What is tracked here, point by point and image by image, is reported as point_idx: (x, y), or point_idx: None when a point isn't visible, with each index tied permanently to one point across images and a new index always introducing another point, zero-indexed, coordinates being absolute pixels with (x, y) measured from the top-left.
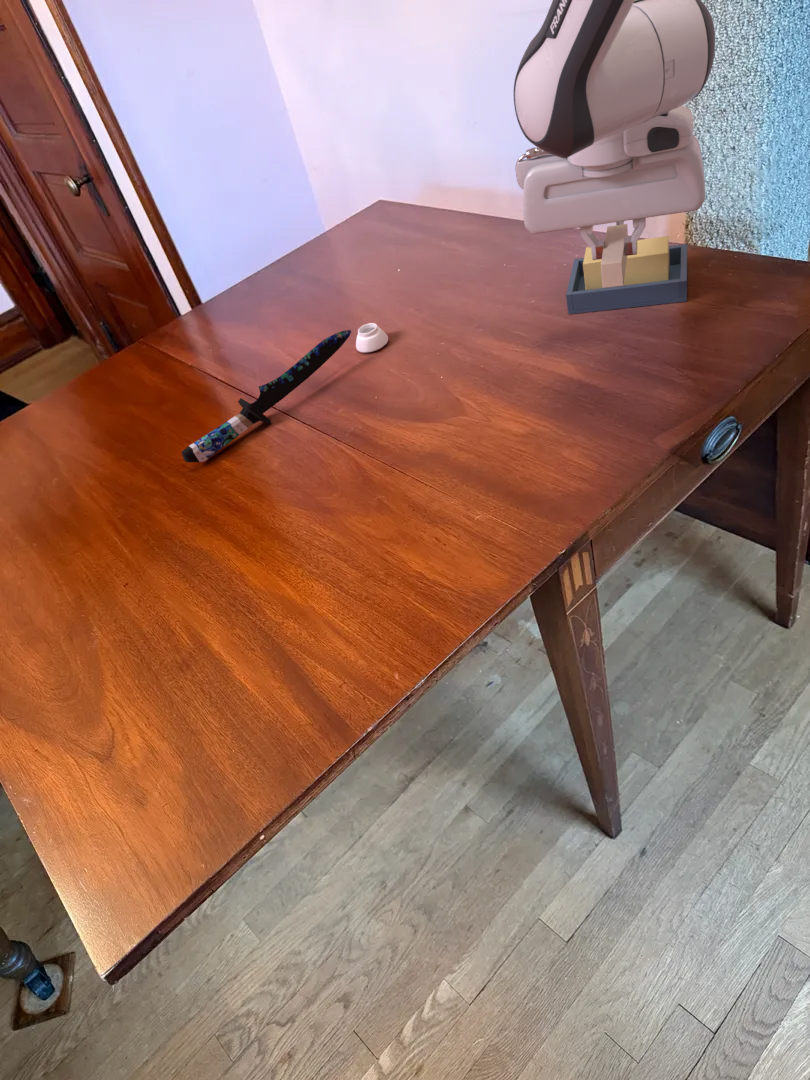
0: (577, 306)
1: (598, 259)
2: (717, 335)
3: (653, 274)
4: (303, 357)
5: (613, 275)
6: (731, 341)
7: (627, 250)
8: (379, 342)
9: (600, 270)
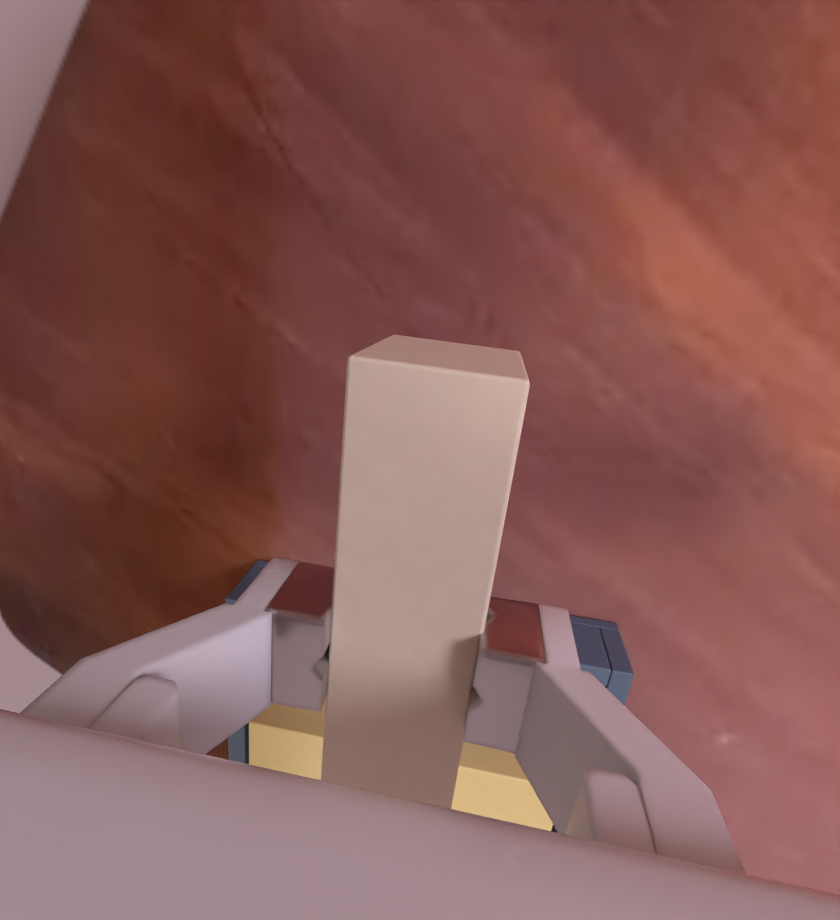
0: (587, 633)
1: (498, 790)
2: (170, 342)
3: None
4: None
5: (438, 350)
6: (131, 294)
7: (320, 582)
8: None
9: None
